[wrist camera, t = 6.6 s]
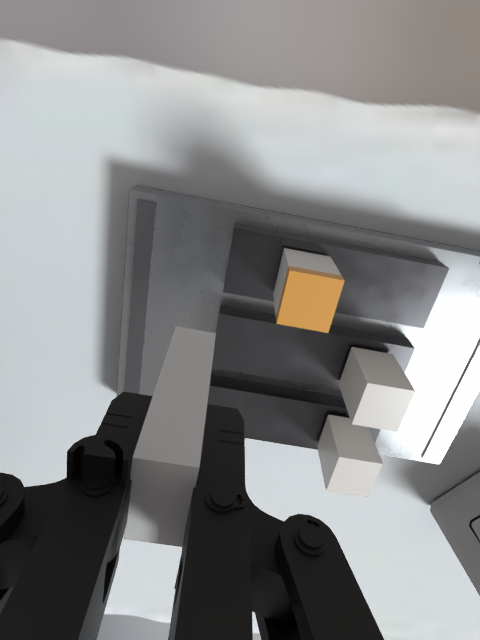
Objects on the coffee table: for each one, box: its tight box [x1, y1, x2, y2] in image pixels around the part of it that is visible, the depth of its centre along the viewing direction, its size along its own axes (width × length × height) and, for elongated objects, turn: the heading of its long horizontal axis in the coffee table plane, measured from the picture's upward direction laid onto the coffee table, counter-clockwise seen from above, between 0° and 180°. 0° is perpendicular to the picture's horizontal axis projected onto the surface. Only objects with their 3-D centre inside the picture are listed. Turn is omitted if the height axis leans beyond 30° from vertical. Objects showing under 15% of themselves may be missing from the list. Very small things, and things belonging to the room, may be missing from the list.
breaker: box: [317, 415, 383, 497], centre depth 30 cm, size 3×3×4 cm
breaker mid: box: [339, 347, 416, 432], centre depth 27 cm, size 3×3×4 cm
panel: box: [117, 185, 480, 465], centre depth 31 cm, size 28×18×4 cm, turn 80°
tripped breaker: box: [273, 248, 345, 333], centre depth 24 cm, size 3×3×4 cm
